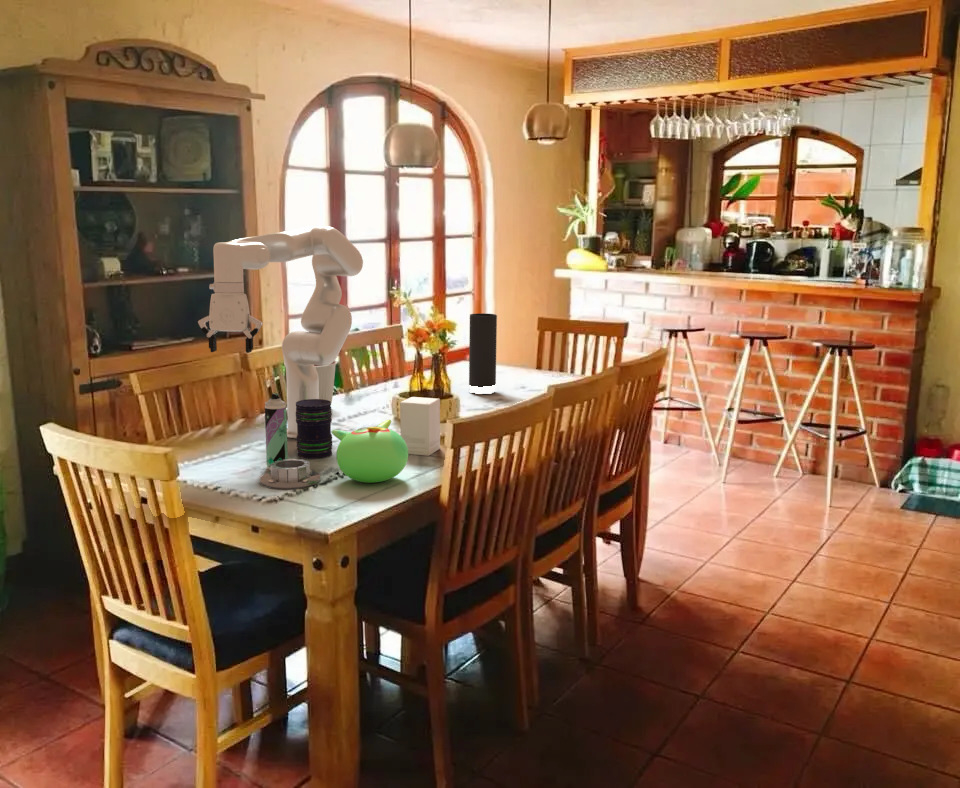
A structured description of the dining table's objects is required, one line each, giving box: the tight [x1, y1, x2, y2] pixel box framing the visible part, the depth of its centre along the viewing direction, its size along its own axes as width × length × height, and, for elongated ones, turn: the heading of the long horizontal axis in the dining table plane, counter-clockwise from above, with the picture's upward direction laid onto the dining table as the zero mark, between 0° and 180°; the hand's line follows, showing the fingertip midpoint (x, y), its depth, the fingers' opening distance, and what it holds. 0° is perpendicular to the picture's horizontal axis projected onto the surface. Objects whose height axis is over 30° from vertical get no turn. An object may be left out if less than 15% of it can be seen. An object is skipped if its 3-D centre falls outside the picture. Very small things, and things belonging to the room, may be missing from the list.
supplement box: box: [399, 396, 441, 457], centre depth 249 cm, size 9×9×15 cm
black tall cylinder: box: [468, 313, 498, 387], centre depth 334 cm, size 10×10×30 cm
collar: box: [259, 458, 322, 490], centre depth 220 cm, size 15×15×4 cm
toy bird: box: [331, 419, 409, 484], centre depth 220 cm, size 18×17×15 cm
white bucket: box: [283, 359, 338, 404], centre depth 302 cm, size 18×18×21 cm
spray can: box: [264, 392, 289, 471], centre depth 230 cm, size 6×6×20 cm
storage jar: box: [295, 399, 333, 460], centre depth 244 cm, size 10×10×15 cm
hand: (231, 351), depth 238 cm, fingers open, 9 cm apart
